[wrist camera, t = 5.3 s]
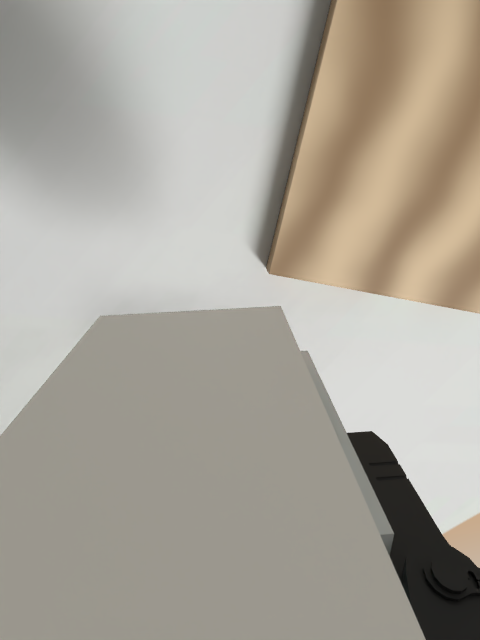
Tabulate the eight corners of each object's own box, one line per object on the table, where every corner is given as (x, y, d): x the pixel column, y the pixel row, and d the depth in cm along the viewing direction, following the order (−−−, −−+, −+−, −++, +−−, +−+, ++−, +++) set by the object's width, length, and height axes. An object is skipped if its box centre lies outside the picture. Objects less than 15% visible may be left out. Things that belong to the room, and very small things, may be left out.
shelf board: (266, 268, 24) (273, 282, 21) (349, -72, 17) (378, -127, 14) (475, 307, 27) (510, 326, 24) (621, 22, 20) (699, -6, 17)
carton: (126, 453, 14) (-16, 880, 5) (95, 316, 11) (-247, 713, 3) (282, 442, 14) (372, 839, 6) (284, 305, 11) (447, 652, 3)
